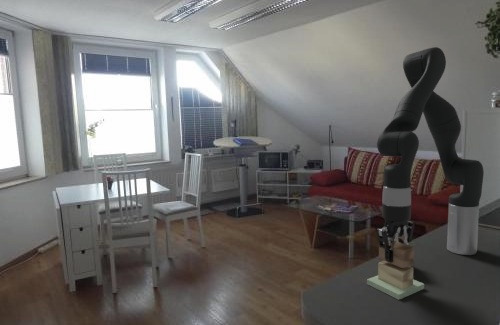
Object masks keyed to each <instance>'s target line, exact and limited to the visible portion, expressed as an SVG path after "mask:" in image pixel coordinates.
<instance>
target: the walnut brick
mask: <svg viewBox="0 0 500 325" xmlns="http://www.w3.org/2000/svg"><path fill="white" fill-rule="evenodd" d="M390 243H391V242H390V241H389V245H390ZM383 244H384V242H383ZM378 259H379V260H381V261H386V260H385V249H384V248H381V247H379V246H378ZM386 262H387V261H386ZM388 263H390V262H388ZM391 264H393V265H396V266H398V267H401V268H404V267H407V266H410V265H411V266H412V265H414V264H415V246H413V245H407V244H404V243H401V242H398V241H397V242H396V243H395V244H394V248H393V262H392V263H391Z"/></svg>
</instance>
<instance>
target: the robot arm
mask: <svg viewBox="0 0 500 325" xmlns="http://www.w3.org/2000/svg"><path fill="white" fill-rule="evenodd" d="M446 61H447V59H446V55H445V53H444V51H443V50H442V49H441V48H440V47H437V46H434V47H429V48H426V49H423V50H419V51H416V52H412V53H409V54H407V55H406V56H404V59H403V61H402V68H403V72H404V75H405V77H406V80H407V81H408V84H409V85H410V88H411V89H409V90H408V92H407V93H406V94H404V96H403V97H402V98H401V99H400V101H399V102H398V105H397V106H396V110H395V112H394V114H393V117H392V118H391V120H390V121H389V122H388V124H387V125H386V126H385V127H384V129H383V130H382V131H381V133H380V134H379V136H378V138H377V142H376V148H377V152H378V153H379V154H380V155H382V156H383V157H384V156H385V157H395V158H396V157H397V158H401V160H400V162H399V163H397V164H396V163H394V164H388V165H386V166H385V167H384V168H383V187H382V188H383V189H382V194H381V195H382V203H381V205H382V206H381V211H382V212H381V216H382V218H383V219H384V225H383V227H382V228H377V229H376V235H377V239H378V240H377V241H378V248H379V247H381V248H384V249H385V260H386V261H387V262H390V263H392V262H393V248H394V244H395V243H396V242H397V241H398V242H401V243H404V244H409V243H412V241H413V235H414V230H415V222H414V221H411V218H412V214H411V213H412V192H411V191H412V190H411V181H412V180H411V177H412V169H413V165H414V162H415V158H416V156H417V153H418V149H419V146H420V140H419V138H418V136H417V134H416V133H415V132H414V131H416V130H417V129H418V127H419V125H420V121H421V118H422V114H423V115H424V118H425V122H426V124H427V127H428V130H429V133H431V137H432V139H433V142H434V144H435V147H436V150H437V153H438V157H439V160H440V163H441V164H440V165H441V167H442V171H443V172H442V173H443V174H444V177H445V179H446V181H447V182H449V183H450V184H454V185H459V186H460V185H461V186H463V188H462V191H461V192H458V193H452V194H450V195H449V196H448V213H447V215H448V217H447V238H446V249H447V251H449V252H451V253H453V254H458V255H463V256H472V255H476V254H477V251H478V242H479V241H478V239H479V216H480V215H479V213H480V212H479V210H480V200H481V197H482V190H483V182H484V166H483V164H482V162H481V161H479V160H475V159H467V158H460V157H459V156H458V153H457V149H456V144H457V141H458V139H459V136H460V134H461V130H462V124H461V121H460V119H459V116H458V112H457V111H456V108H455V107H454V106H453V105H452V104H451V103H450V102H449V101H447V99H445V98H443V97H442V96H441V95H439V94H438V93H437V92H435V89H436V87H437V85H438V84H439V82H440V80H441V79H442V77H443V75H444V73H445V69H446V65H447V62H446ZM389 241H390V242H391V243H390V245H389ZM383 242H384V244H383Z"/></svg>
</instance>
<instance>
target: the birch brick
mask: <svg viewBox="0 0 500 325" xmlns="http://www.w3.org/2000/svg"><path fill="white" fill-rule="evenodd" d="M377 268H378V269H377V275H378V279H380V280H382V281H384V282H387V283H389V284H391V285H394V286H396V287H398V288H400V289H404V288H406V287H408V286H410V285H412V284H413V279H414V267H413V266H411V267H410V266H407V267H404V268H401V267H398V266H396V265H393V264H391V263H388V262H386V261H383V260H381V261H379V262H378V263H377Z"/></svg>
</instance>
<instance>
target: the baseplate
mask: <svg viewBox="0 0 500 325" xmlns="http://www.w3.org/2000/svg"><path fill="white" fill-rule="evenodd" d="M366 285H368V286H370V287H372V288H374V289H376V290H378V291H380V292H382V293H384V294H387V295H388V296H390V297H392V298H394V299H396V300H402V299H404V298H406V297H409V296H410V295H413V294H416V293H417V292H420V291H422V290H424V289H425V283H423V282H420V281H418V280H416V279H414V278H413V284H412V285H410V286H408V287H406V288H404V289H400V288H398V287H396V286H394V285H391V284H389V283H387V282H384V281H382V280H380V279H378V274H377V275H374V276H373V277H370V278H367V279H366Z"/></svg>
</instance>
